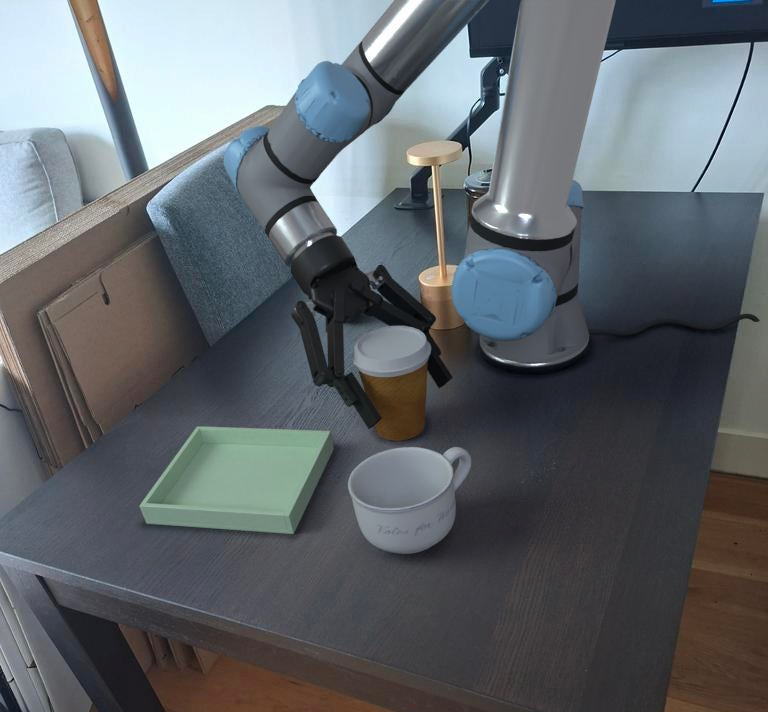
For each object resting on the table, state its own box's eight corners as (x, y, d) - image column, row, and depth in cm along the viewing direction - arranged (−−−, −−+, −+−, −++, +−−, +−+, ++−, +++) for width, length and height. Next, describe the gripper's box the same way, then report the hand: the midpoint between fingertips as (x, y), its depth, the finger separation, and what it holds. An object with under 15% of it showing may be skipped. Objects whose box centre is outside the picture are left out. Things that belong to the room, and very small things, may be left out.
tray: (334, 448, 95) (330, 430, 93) (293, 534, 83) (288, 515, 82) (202, 443, 100) (196, 426, 98) (146, 523, 88) (138, 505, 86)
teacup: (381, 582, 76) (371, 522, 71) (343, 522, 84) (331, 463, 79) (503, 535, 79) (502, 474, 74) (455, 481, 87) (451, 422, 82)
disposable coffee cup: (420, 399, 102) (412, 316, 94) (449, 434, 95) (443, 348, 87) (353, 419, 100) (339, 336, 92) (378, 457, 93) (365, 370, 85)
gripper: (375, 237, 101) (464, 376, 101) (226, 301, 90) (326, 456, 91) (397, 203, 94) (493, 351, 94) (239, 268, 84) (348, 435, 84)
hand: (411, 403), depth 92 cm, fingers open, 11 cm apart
